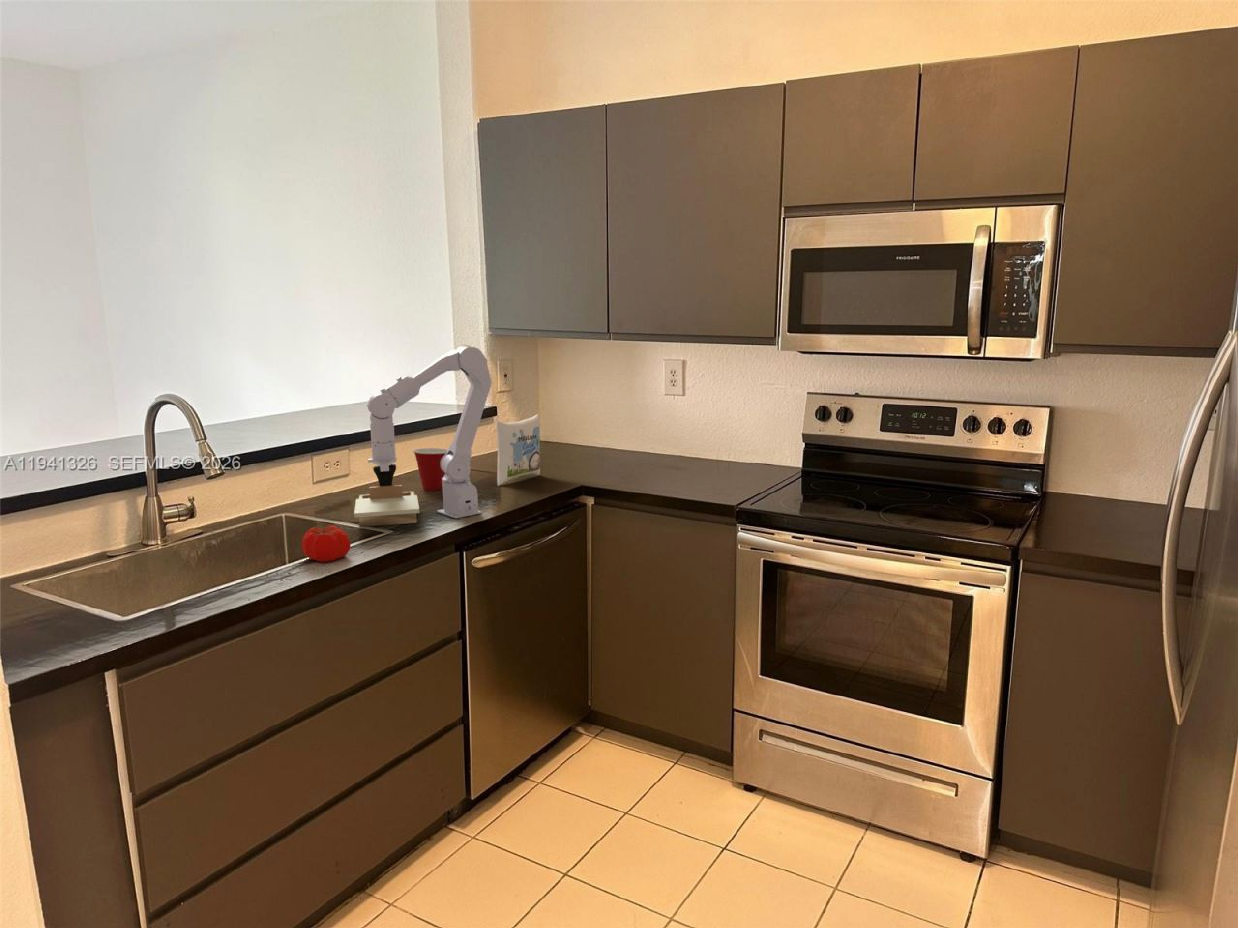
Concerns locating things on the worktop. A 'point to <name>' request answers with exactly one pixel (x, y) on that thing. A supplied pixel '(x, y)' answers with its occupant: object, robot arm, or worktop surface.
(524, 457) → the pouch
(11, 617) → the worktop surface
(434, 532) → the worktop surface
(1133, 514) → the worktop surface
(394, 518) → the storage box
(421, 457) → the plastic cup
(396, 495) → the lid
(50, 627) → the worktop surface
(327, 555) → the tomato
